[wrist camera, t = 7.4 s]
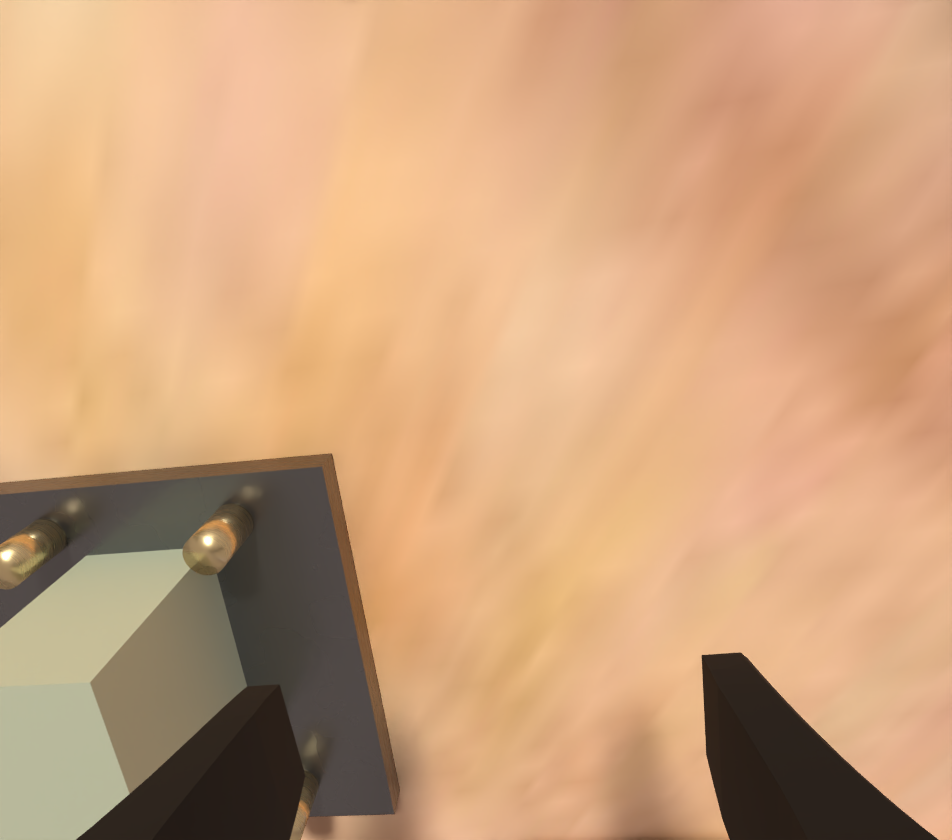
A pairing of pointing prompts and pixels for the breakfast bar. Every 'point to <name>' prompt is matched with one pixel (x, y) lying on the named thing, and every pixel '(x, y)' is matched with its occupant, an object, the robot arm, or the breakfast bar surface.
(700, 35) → the breakfast bar surface
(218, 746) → the robot arm
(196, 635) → the block
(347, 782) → the plate
